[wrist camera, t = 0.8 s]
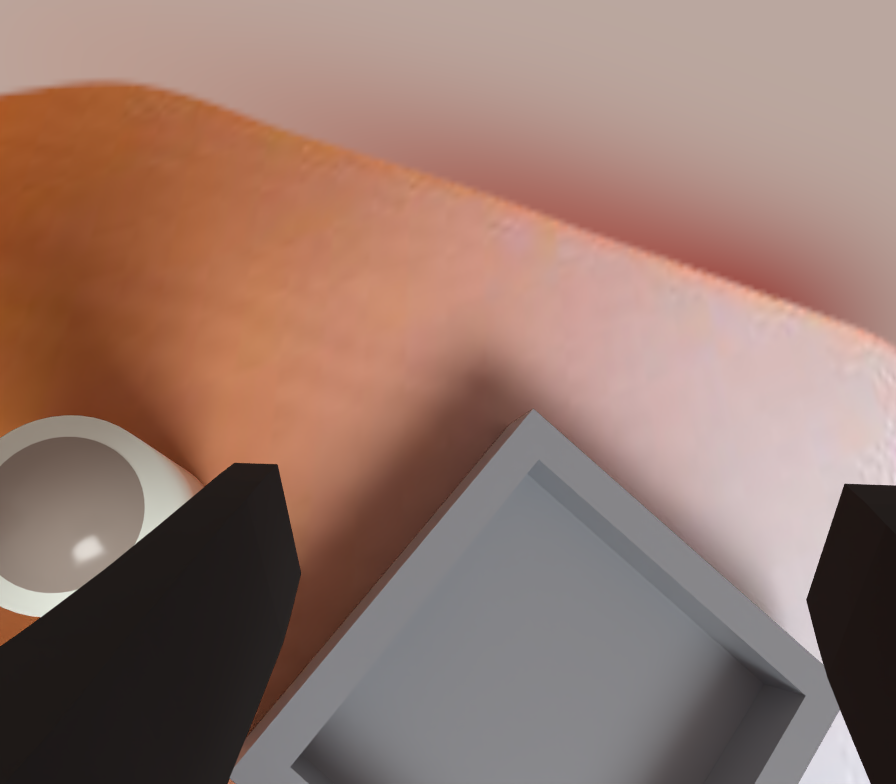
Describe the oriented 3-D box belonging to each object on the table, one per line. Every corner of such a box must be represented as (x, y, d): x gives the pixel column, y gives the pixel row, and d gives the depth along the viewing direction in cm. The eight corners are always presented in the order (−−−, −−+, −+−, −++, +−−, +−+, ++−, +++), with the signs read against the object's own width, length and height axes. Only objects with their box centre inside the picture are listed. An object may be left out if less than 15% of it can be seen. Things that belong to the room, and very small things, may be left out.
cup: (145, 625, 22) (56, 662, 15) (42, 534, 22) (-99, 523, 15) (243, 520, 24) (209, 502, 16) (147, 434, 24) (66, 375, 16)
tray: (570, 1045, 22) (609, 1119, 19) (238, 747, 22) (227, 775, 19) (792, 674, 26) (851, 689, 23) (509, 424, 26) (533, 408, 23)
